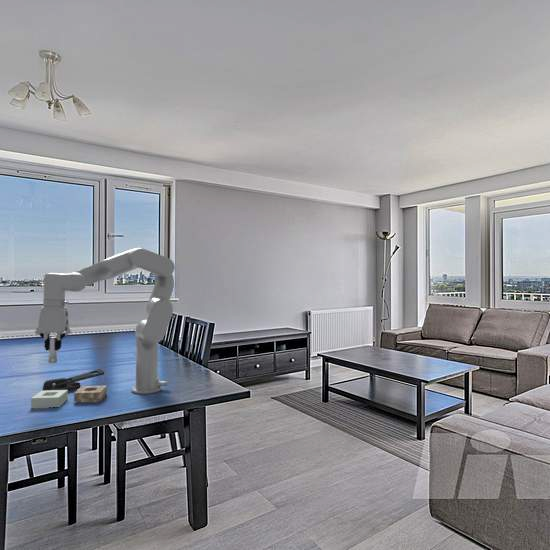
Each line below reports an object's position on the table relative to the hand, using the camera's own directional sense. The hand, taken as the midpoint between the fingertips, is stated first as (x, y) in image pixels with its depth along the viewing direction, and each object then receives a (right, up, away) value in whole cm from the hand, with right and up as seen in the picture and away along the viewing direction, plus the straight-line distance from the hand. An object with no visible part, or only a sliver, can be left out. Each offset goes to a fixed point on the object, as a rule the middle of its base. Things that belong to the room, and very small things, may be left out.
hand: (52, 349), depth 162 cm
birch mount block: (+12, -22, +7) cm, 26 cm away
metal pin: (0, -5, 0) cm, 5 cm away
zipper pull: (-2, -22, +21) cm, 30 cm away
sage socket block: (-1, -22, 0) cm, 22 cm away
